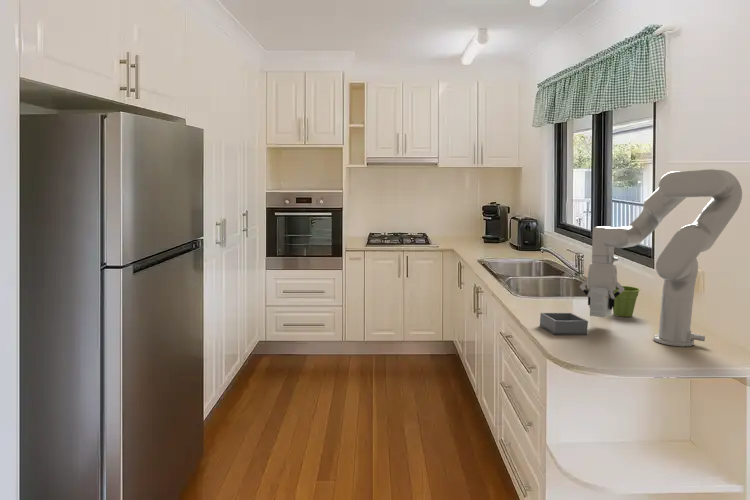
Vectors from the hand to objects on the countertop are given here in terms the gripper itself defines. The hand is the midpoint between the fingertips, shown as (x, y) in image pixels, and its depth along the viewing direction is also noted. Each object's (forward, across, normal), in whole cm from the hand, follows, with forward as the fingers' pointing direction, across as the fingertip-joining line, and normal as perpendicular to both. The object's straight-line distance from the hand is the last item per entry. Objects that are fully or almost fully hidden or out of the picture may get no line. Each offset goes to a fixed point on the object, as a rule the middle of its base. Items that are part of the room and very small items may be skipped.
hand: (600, 307), depth 229 cm
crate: (+7, +11, +13) cm, 18 cm away
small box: (+3, 0, 0) cm, 3 cm away
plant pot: (+8, -5, -28) cm, 30 cm away
